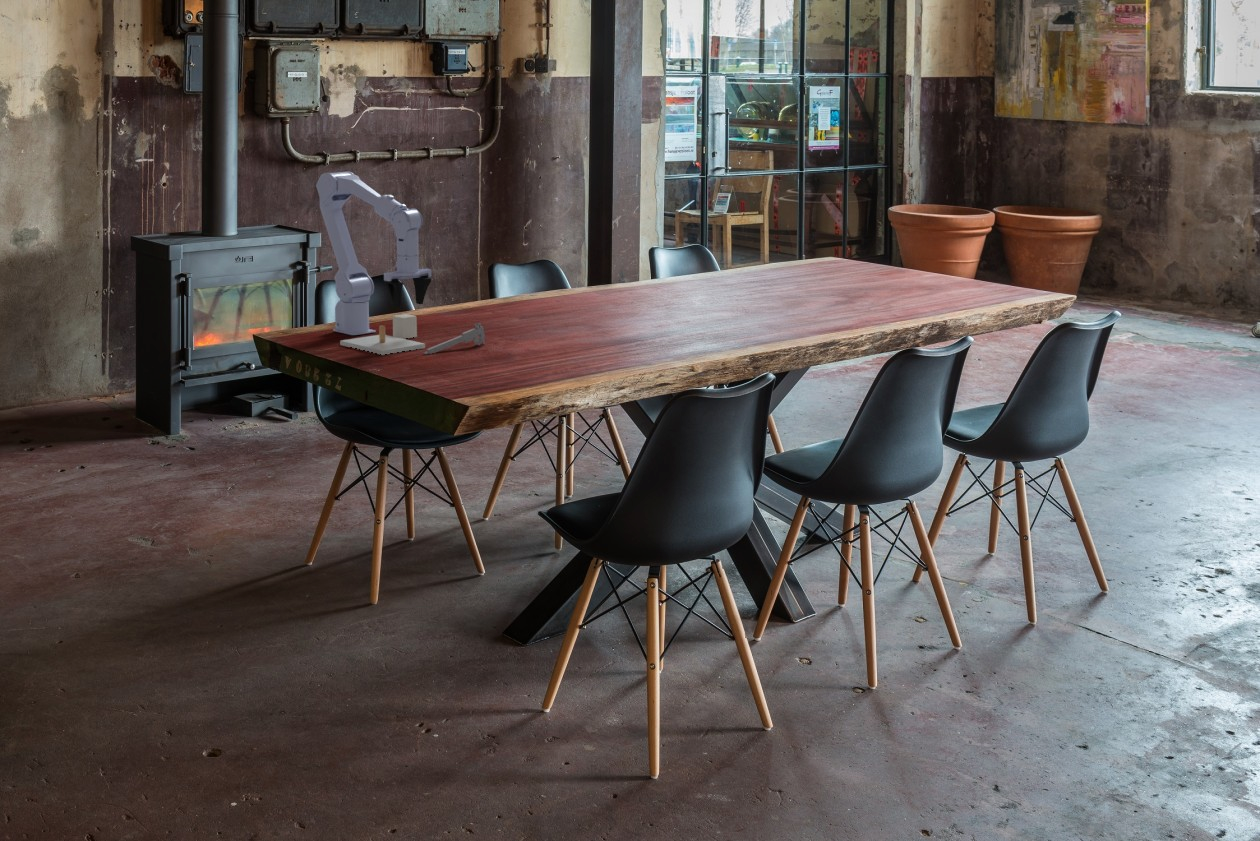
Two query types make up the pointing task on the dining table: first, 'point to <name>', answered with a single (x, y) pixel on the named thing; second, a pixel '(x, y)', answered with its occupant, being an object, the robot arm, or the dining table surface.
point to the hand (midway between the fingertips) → (408, 305)
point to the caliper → (461, 339)
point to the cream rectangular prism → (404, 326)
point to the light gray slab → (382, 343)
